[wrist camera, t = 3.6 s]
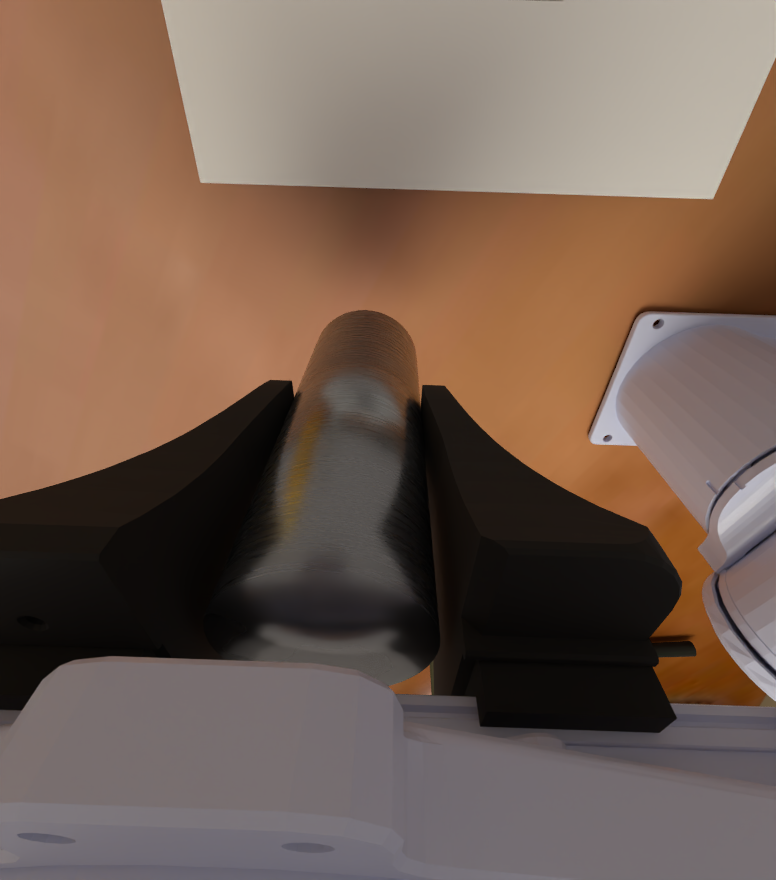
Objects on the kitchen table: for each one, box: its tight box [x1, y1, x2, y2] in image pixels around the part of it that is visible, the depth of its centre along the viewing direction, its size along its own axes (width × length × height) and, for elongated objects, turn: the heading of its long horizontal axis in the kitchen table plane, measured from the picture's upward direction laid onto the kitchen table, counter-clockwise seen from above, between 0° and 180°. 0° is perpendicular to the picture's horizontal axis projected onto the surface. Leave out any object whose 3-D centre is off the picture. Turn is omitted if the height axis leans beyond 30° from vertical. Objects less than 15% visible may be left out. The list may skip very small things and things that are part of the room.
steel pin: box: [203, 310, 440, 686], centre depth 10 cm, size 4×4×10 cm
